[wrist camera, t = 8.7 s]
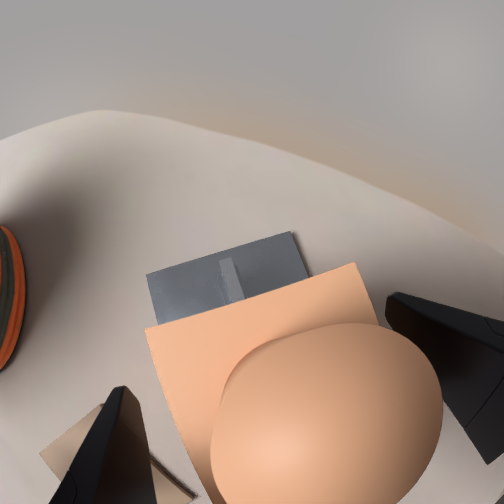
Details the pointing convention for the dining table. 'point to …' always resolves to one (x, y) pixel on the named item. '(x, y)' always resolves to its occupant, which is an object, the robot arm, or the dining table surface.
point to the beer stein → (10, 293)
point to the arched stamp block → (300, 396)
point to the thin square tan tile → (67, 445)
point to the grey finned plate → (225, 277)
